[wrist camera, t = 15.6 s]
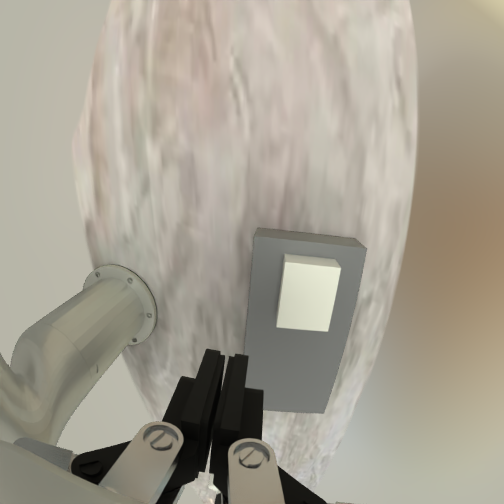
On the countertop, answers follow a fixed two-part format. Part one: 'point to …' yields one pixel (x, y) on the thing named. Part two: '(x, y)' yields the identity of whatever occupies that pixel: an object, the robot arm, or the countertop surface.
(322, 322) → the plug
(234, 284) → the countertop surface
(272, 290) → the socket board
